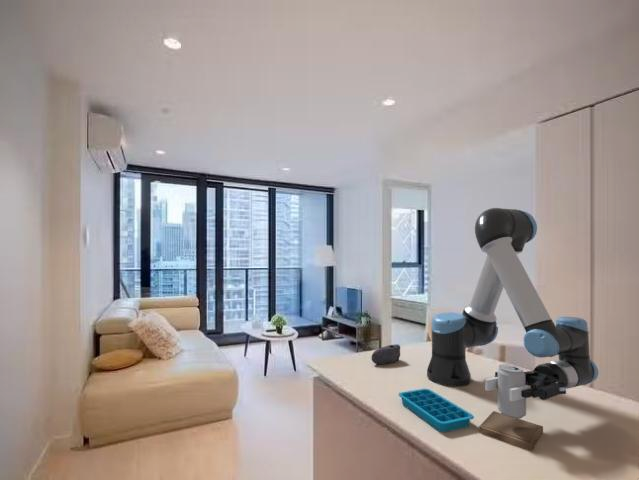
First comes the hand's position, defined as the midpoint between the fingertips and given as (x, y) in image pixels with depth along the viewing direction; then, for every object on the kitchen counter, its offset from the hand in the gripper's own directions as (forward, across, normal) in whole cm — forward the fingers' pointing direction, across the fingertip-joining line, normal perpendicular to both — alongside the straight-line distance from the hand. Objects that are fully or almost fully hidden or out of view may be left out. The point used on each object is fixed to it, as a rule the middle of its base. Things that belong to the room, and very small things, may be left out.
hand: (498, 389), depth 87 cm
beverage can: (-5, 0, -7) cm, 9 cm away
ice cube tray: (+6, +16, -12) cm, 21 cm away
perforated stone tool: (-7, +58, -12) cm, 60 cm away
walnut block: (-5, 0, -12) cm, 13 cm away
